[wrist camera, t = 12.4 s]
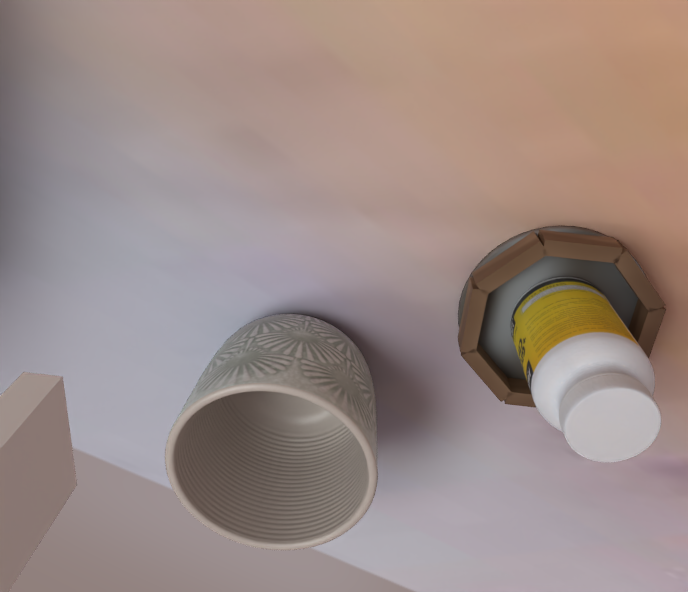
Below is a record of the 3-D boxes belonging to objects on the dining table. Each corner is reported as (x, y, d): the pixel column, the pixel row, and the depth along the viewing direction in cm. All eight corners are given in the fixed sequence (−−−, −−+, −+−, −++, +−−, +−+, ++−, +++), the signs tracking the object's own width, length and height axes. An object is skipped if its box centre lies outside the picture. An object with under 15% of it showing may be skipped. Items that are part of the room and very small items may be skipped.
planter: (350, 457, 49) (339, 573, 39) (197, 411, 48) (147, 518, 38) (405, 326, 43) (409, 424, 34) (234, 272, 43) (187, 355, 33)
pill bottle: (499, 285, 41) (535, 385, 30) (602, 262, 39) (675, 358, 29) (517, 368, 43) (555, 486, 33) (614, 348, 42) (685, 464, 32)
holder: (444, 378, 45) (447, 399, 43) (475, 215, 40) (480, 229, 37) (617, 398, 45) (629, 420, 42) (672, 236, 39) (689, 251, 37)
